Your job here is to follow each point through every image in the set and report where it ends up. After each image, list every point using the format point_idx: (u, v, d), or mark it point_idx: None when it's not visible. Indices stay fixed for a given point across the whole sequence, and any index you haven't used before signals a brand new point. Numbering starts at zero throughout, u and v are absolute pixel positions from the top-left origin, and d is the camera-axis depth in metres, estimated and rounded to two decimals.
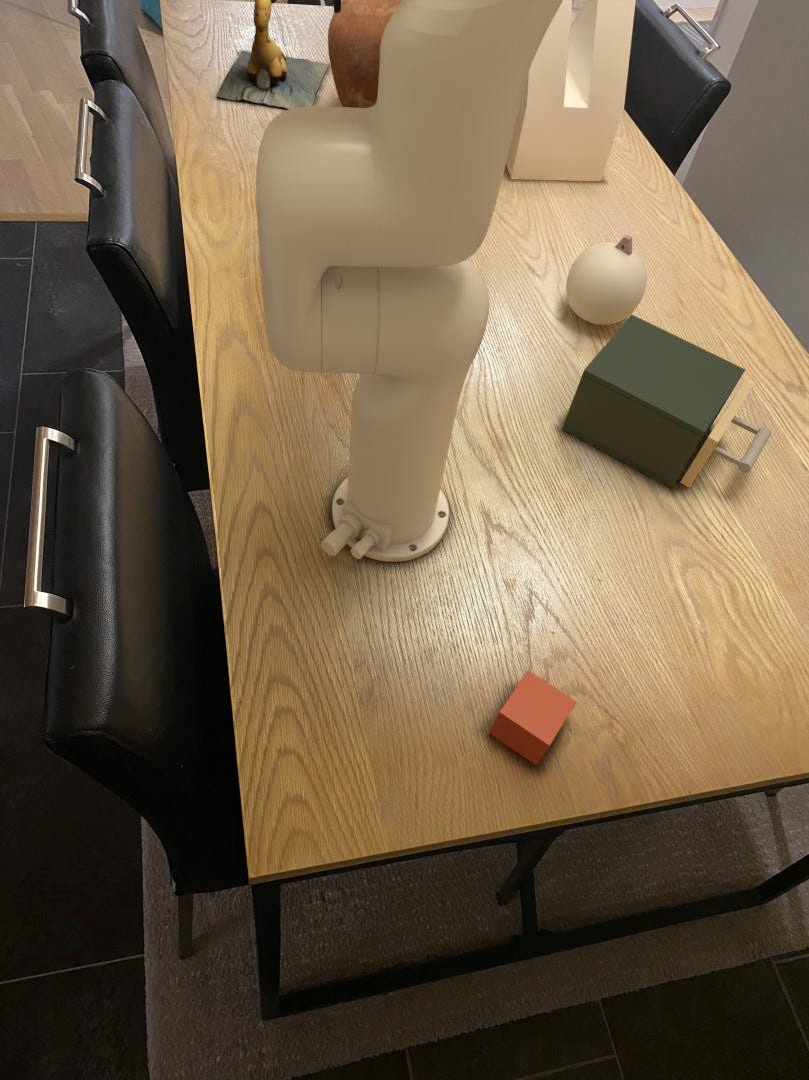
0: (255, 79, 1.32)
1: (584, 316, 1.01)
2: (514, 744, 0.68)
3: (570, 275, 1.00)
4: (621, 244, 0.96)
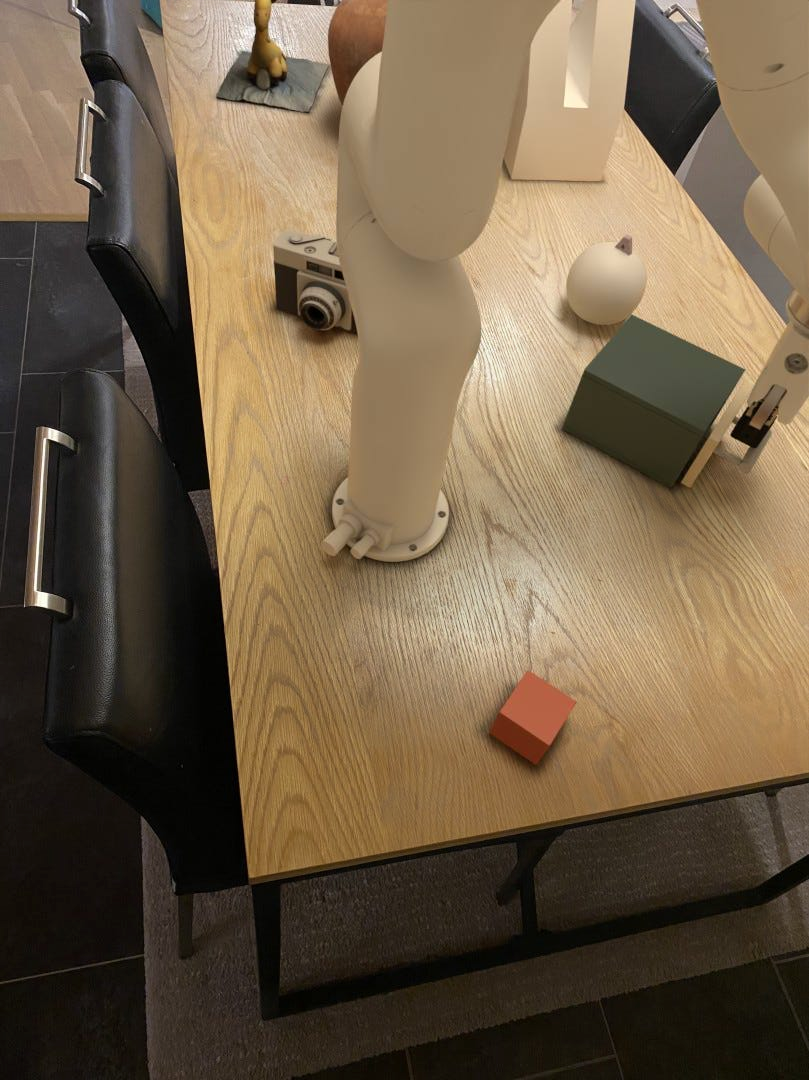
0: (255, 79, 1.32)
1: (584, 316, 1.01)
2: (514, 744, 0.68)
3: (570, 275, 1.00)
4: (621, 244, 0.96)
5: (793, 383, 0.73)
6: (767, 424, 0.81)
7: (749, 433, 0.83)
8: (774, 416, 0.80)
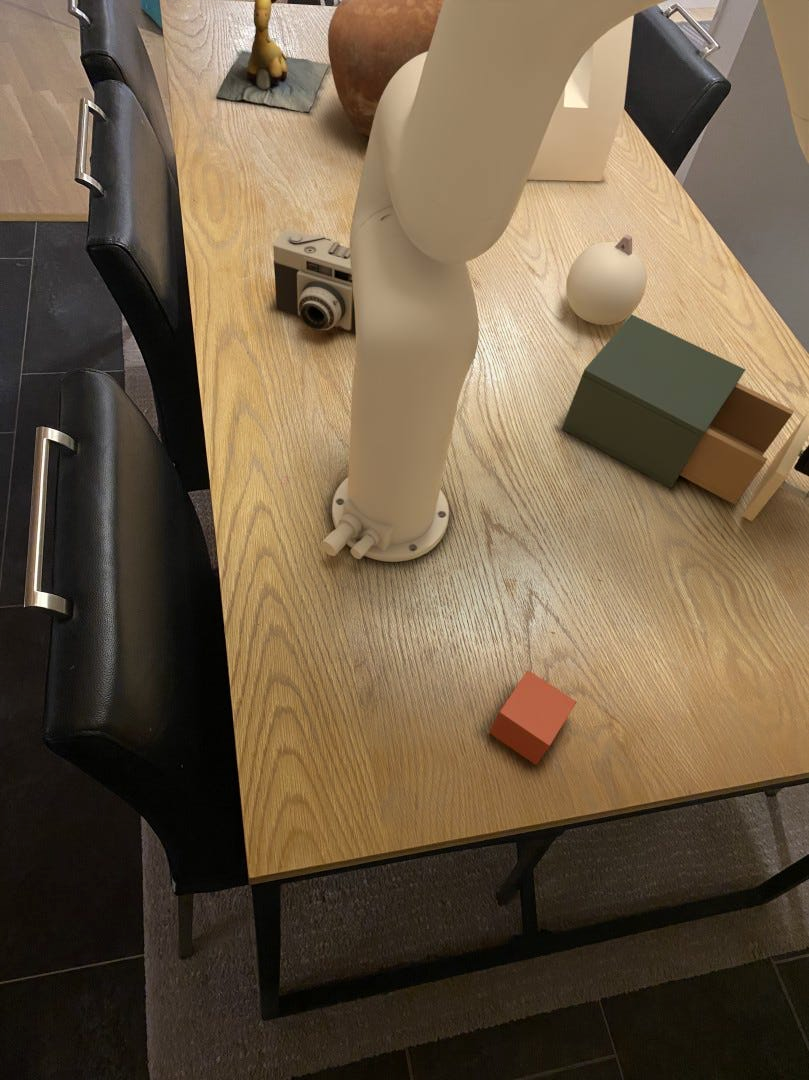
0: (255, 79, 1.32)
1: (584, 316, 1.01)
2: (514, 744, 0.68)
3: (570, 275, 1.00)
4: (621, 244, 0.96)
5: None
6: None
7: None
8: None
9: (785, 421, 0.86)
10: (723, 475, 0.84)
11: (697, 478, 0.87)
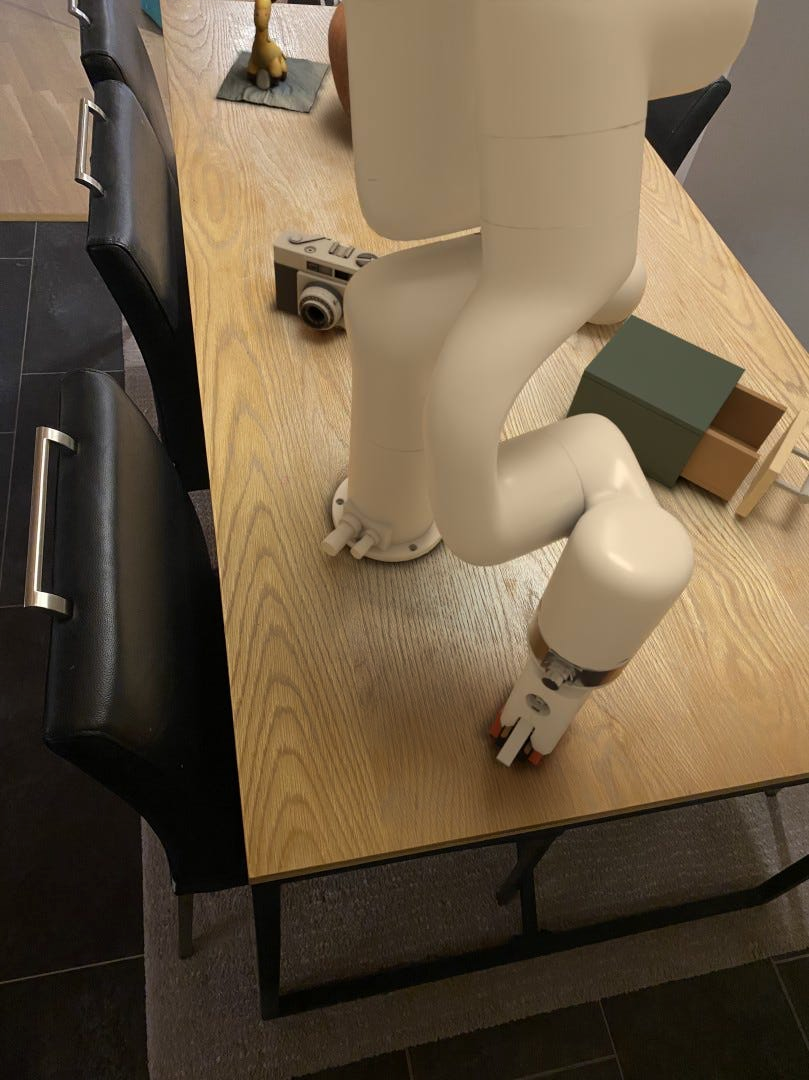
0: (255, 79, 1.32)
1: None
2: None
3: None
4: None
5: (539, 723, 0.57)
6: (525, 751, 0.63)
7: None
8: None
9: (778, 418, 0.86)
10: (717, 472, 0.85)
11: (691, 475, 0.87)
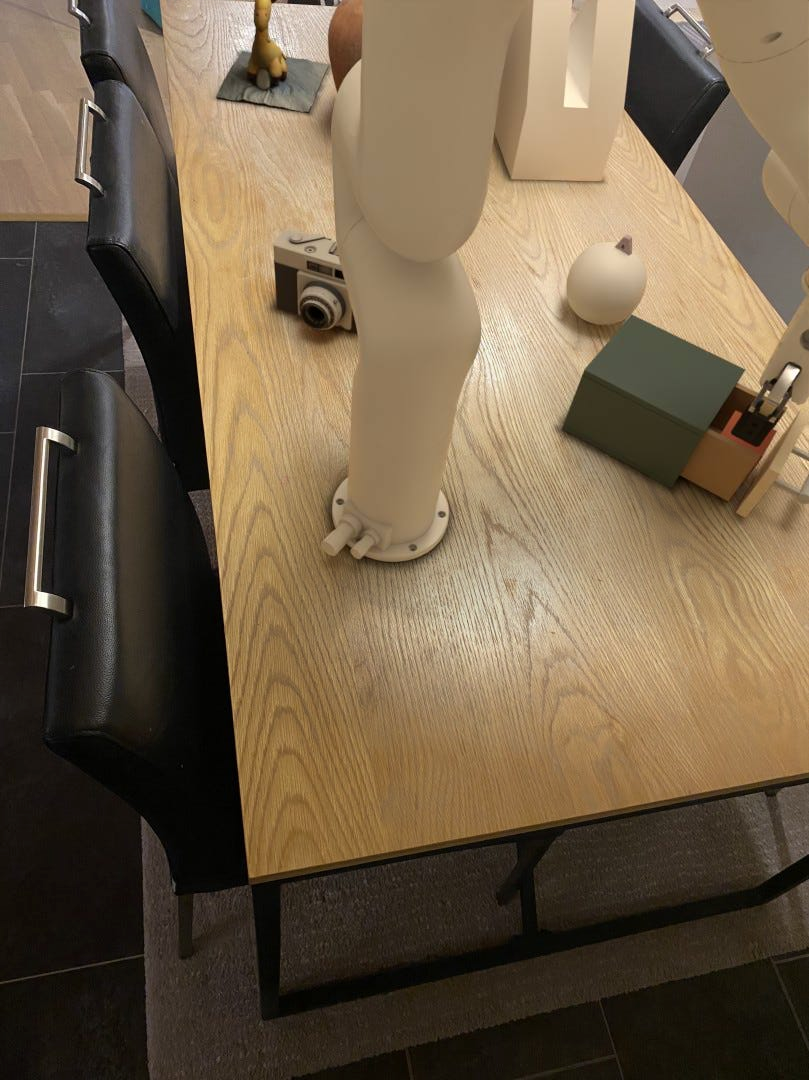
0: (255, 79, 1.32)
1: (584, 316, 1.01)
2: None
3: (570, 275, 1.00)
4: (621, 244, 0.96)
5: None
6: (774, 417, 0.75)
7: (751, 431, 0.78)
8: (784, 404, 0.74)
9: (778, 418, 0.86)
10: (717, 472, 0.85)
11: (691, 475, 0.87)
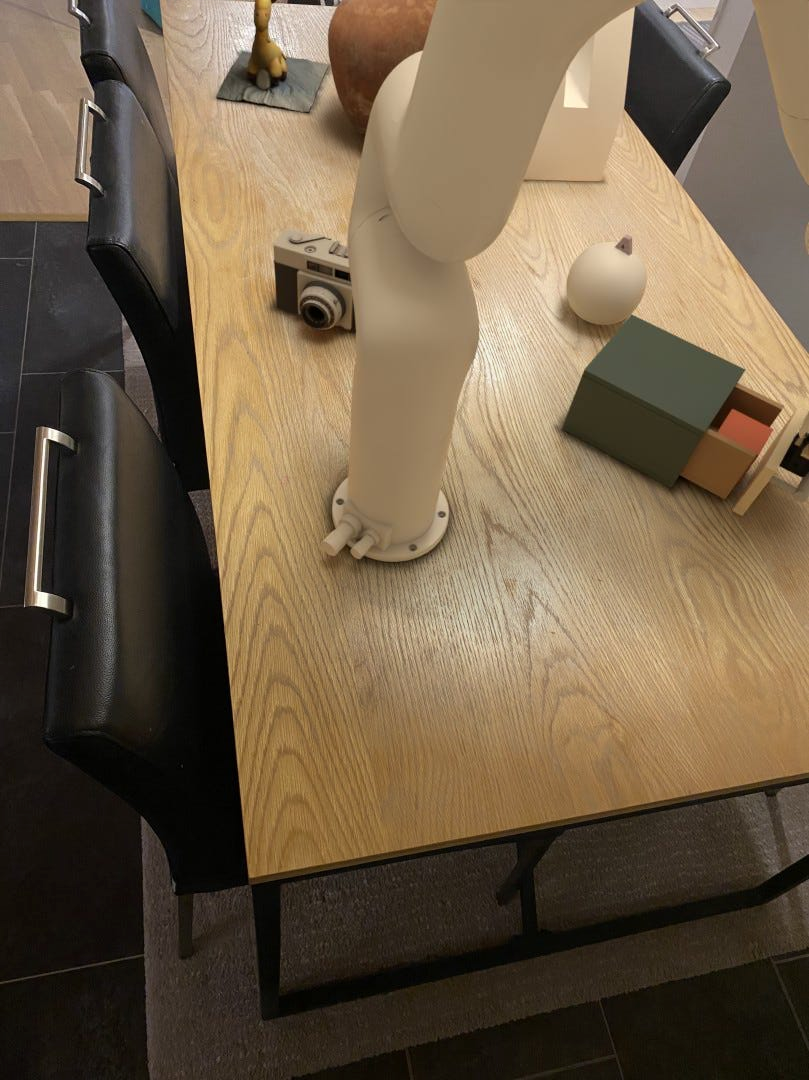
0: (255, 79, 1.32)
1: (584, 316, 1.01)
2: None
3: (570, 275, 1.00)
4: (621, 244, 0.96)
5: None
6: None
7: (797, 463, 0.82)
8: None
9: (775, 416, 0.86)
10: (713, 470, 0.85)
11: (688, 473, 0.87)
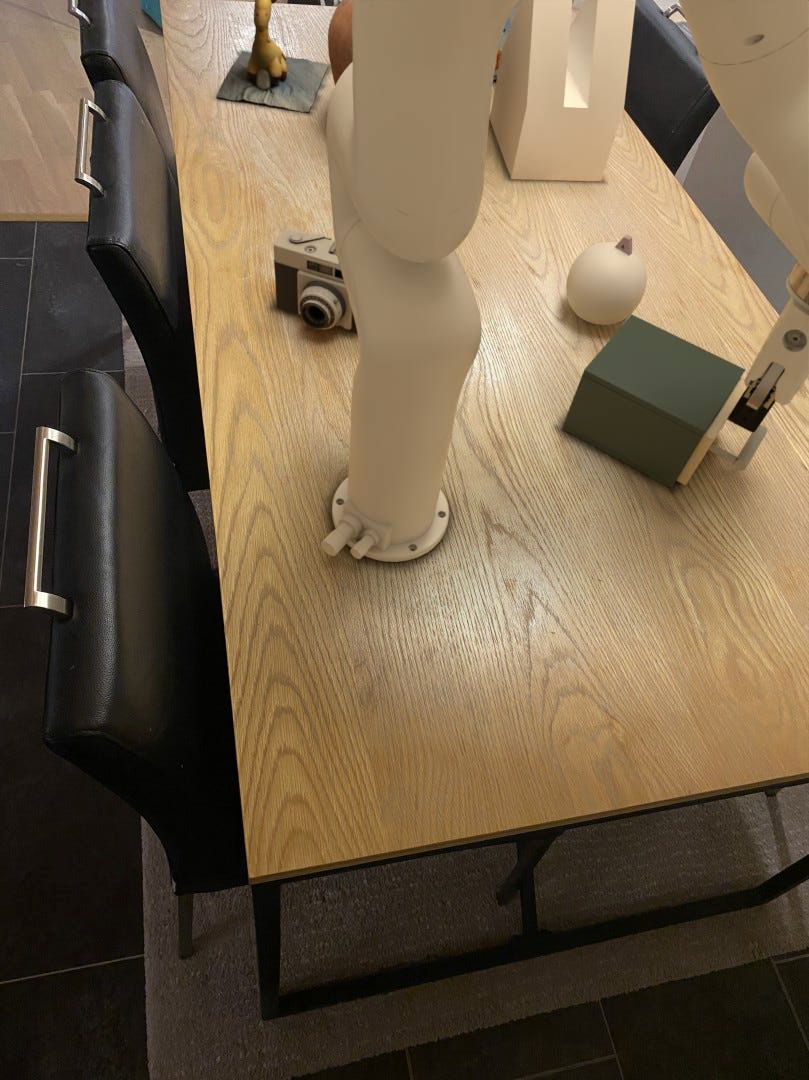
0: (255, 79, 1.32)
1: (584, 316, 1.01)
2: None
3: (570, 275, 1.00)
4: (621, 244, 0.96)
5: (791, 361, 0.71)
6: (765, 406, 0.79)
7: (747, 416, 0.81)
8: (773, 398, 0.77)
9: None
10: None
11: None
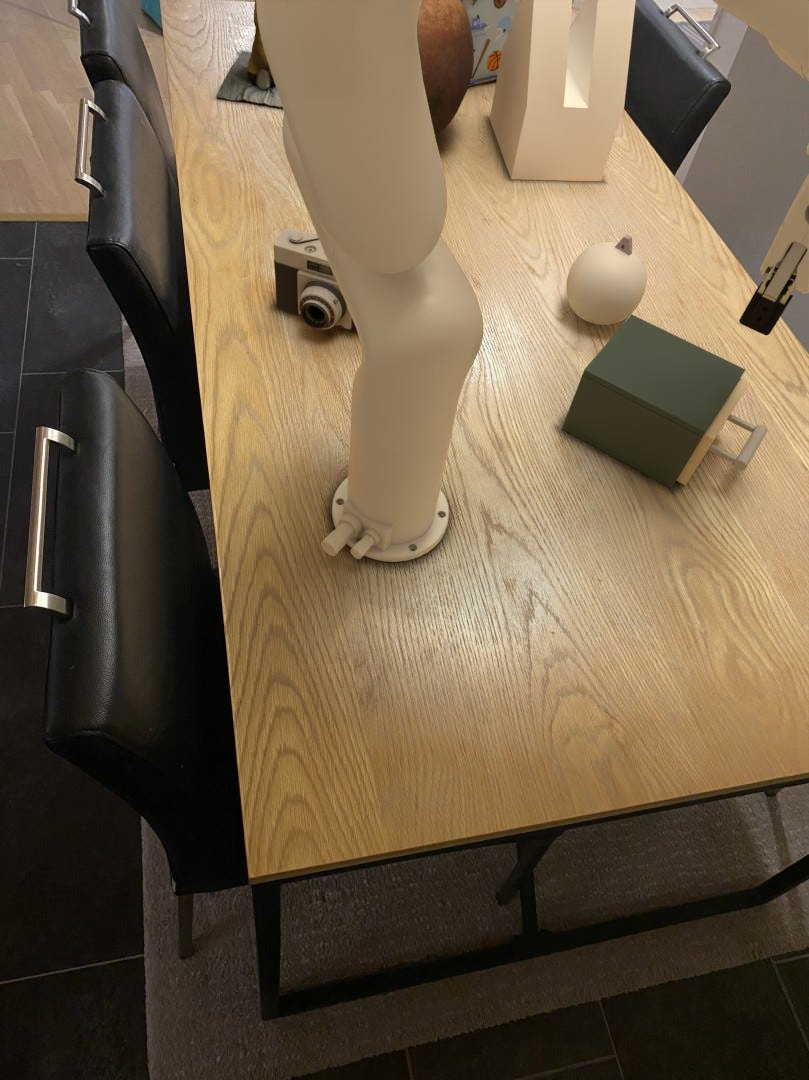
0: (255, 79, 1.32)
1: (584, 316, 1.01)
2: None
3: (570, 275, 1.00)
4: (621, 244, 0.96)
5: None
6: (782, 302, 0.71)
7: (761, 316, 0.74)
8: (790, 290, 0.70)
9: None
10: None
11: None
